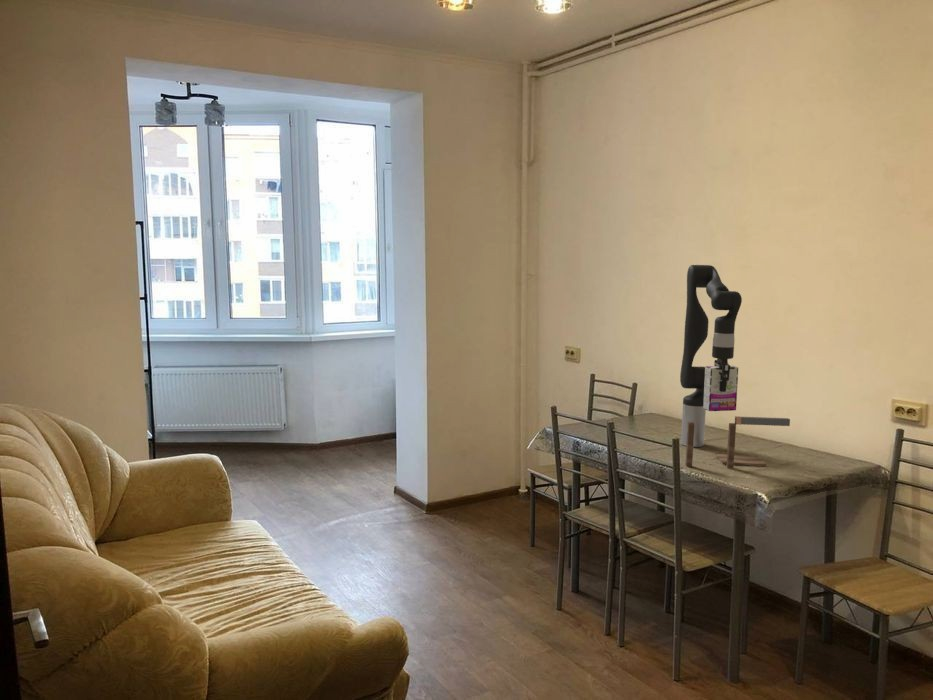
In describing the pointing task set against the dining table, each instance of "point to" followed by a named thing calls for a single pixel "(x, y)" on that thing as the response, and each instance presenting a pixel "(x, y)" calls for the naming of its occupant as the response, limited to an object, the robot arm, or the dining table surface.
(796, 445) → the dining table surface
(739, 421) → the bar
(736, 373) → the candy bar box
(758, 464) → the walnut board
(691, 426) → the posts
